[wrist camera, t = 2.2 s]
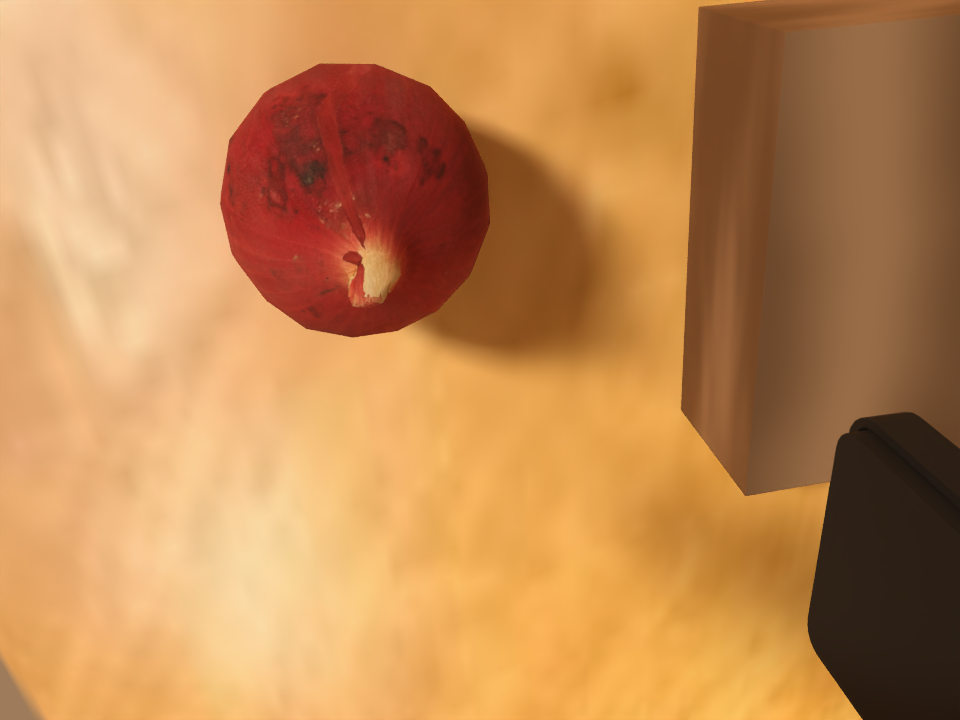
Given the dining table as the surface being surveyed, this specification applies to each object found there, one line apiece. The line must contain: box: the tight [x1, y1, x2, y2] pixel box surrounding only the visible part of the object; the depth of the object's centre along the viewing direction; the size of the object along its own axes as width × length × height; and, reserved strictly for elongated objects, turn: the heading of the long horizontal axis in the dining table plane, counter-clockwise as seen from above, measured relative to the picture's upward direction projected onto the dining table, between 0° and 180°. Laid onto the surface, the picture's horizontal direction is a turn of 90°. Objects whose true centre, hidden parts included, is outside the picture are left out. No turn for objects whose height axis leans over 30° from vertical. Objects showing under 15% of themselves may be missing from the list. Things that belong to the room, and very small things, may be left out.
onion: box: [220, 64, 490, 337], centre depth 20 cm, size 6×6×8 cm
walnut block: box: [681, 0, 960, 496], centre depth 25 cm, size 12×12×5 cm
